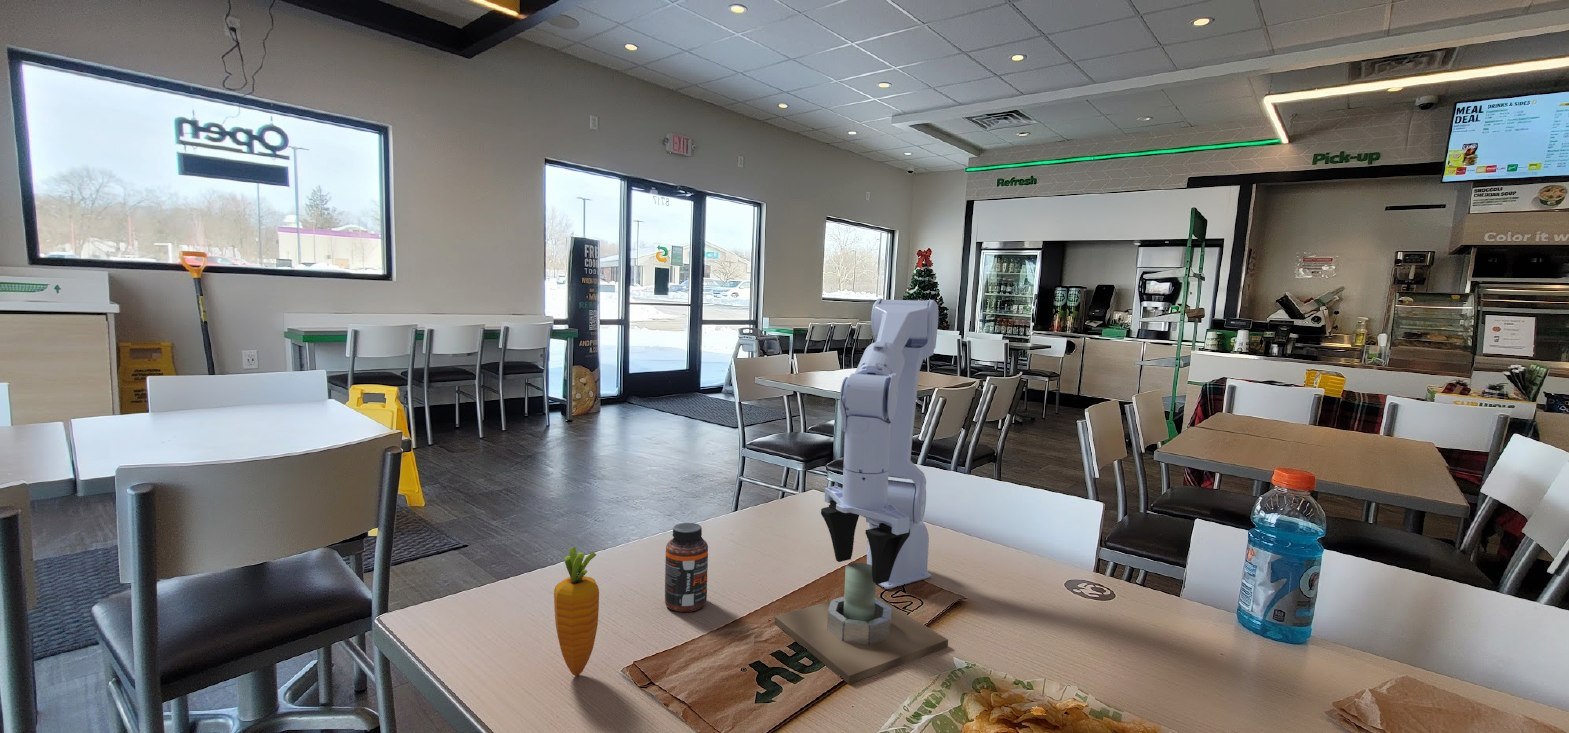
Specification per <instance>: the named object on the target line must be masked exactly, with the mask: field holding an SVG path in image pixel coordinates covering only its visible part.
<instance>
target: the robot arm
mask: <svg viewBox="0 0 1569 733" xmlns="http://www.w3.org/2000/svg"><path fill="white" fill-rule="evenodd" d="M870 314H871V317H870V319H871V320H870V323H871V324H870V326H871V332H872V334H873V339H874V342H873V343H871V344H869V345H868V346H866V348H865V350H864V351H863V354H862V356H861V358H860V361H859V363H858V365H857V368H856V370H855V372H854V373H851V374H850V375H849V377H848V376H846V377H844V379H843V380H842V383H841V387H840V393H839V394H840V395H839V410H840V415H841V432H843V433H844V443H843V445H844V448H843V470H842V473H843V474H842V487H840V486H837V485H834V486H833V485H832V486H829V487H825V488H824V502H825V503H828V506H827V507H822V508H821V509H820V515H821V516H822V519H823V520H824V522H825V525H826V526H827V529H828V532H829V535H830V538H831V542H832V547H833V552H834V557H835V561H836V562H838V563H841V562H846V561H850V560H851V559H852V556H853V551H854V543H855V540H854V539H855V534H856V529H857V525H858V521H859V518H860V516H861V517H863V518H865V523H868V524H867V526H868V527H867V529H866V530H865V536H866V538H867V550H866V551H867V554H866V564H869V565H872V578H873V582H874V583H876V585H878V586H880V587H882V588H883V587H884V588H883V589H885V590H891V589H894V588H897V586H898V587H901V586H904V584H905V585H909V584H911V583H915V582H919V581H921V580H925V579H929V578H930V577H931V576H932V574H931V573H930V572H928V562H929V543H930V541H929V540H930V537H929V532H928V528H927V526H926V524H925V523H924V522H923V520H924V517H925V512H926V506H927V504H926V503H927V478H926V475H925V473H924V472H923V471H922V470H921V469H920V468H919V467H918V465H916V464H915V463H913V461H912V460H911V459H912V458H911V457H912V448H913V447H912V446H913V436H914V426H915V419H916V418H915V417H916V407H917V406H916V404H917V395H918V385H919V376H920V375H919V374H920V371H921V368H922V365H923V361H924V359H927V358H929V357H932V356H933V355H934V353H935V349H936V347H937V338H938V327H939V306H938V303H937V302H936V300H935V299H930V300H915V299H913V300H911V299H910V300H909V299H906V300H905V299H904V300H903V299H883V298H877V299H876V301H875V302H874V303H873V305H872V310H871V313H870ZM889 478H896V479H905V480H911V481H912V482H908V481H903V480H901V481H900V480H894V479H889Z"/></svg>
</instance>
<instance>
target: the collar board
mask: <svg viewBox="0 0 1569 733" xmlns="http://www.w3.org/2000/svg"><path fill="white" fill-rule="evenodd" d="M875 598H877V599H878V600H880V601H882V602H883V603H885V604H887V605H888V606H890V607H891V627H890V636H889V638H888V639H886V640H883V641H880V642H877V643H874V644H871V645H870V644H868V645H865V644H858V643H850V642H844V640H843V641H841V640H840V639H839V638H837V637H836V636H835V635H833V634H832V633H831V632H829V631H828V629H827V619H828V609H829V606H830V602H831V601H832V600H833V599H832V600H829V601H828V600H827V601H825V602H821V603H818V604H815V605H811V606H807V607H803V608H800V609H796V610H793V611H790V612H789V611H788V612H785V613H782V614H778V615H775V616H774V624H775V625H776V626H777V627H778V628H779V629H781V631H783V630H784V631H785V632H784V631H783V632H784V633H786V635H788V634H789V635H790V636H789V635H788V636H789V637H791V638H792V639H793V640H794V641H795V642H796V643H798V644H799V645H800V646H801V645H802V648H804V649H805V648H806V649H807V650H806V649H805V650H806V651H808V652H809V653H810V654H811V655H813V656H814V658H816V659H817V660H819V661H820V663H822V664H823V663H824V666H826V667H827V668H828V667H829V670H831V671H832V672H833V671H834V672H835V673H834V672H833V673H834V674H835V675H837V674H838V675H840V676H841V677H842V678H843V679H842V678H841V677H840V678H841V679H842V680H843V681H844V682H845V683H847V684H848V685H851V684H854V683H857V682H859V681H861V680H863V679H867V678H868V677H872V676H874V675H877V674H880V673H882V672H885V671H888V670H891V669H893V668H895V667H898V666H901V665H904V664H906V663H907V664H908V663H909V662H911V661H914V660H917V659H920V658H922V657H925V656H928V655H930V654H933V653H935V652H938V651H941V650H943V649H946V648H948V647H949V646H948V644H949V639H948V638H946V637H944V636H943V635H941V634H939V633H938V632H936V631H934V630H933V629H931V628H930V627H928V626H926V625H925V624H923V623H922V622H919V621H918V620H917V619H915V618H913V617H912V616H910V615H908V614H907V613H905V612H903V611H901V610H900V609H898V608H896V607H895V606H893V605H891V604H890V603H889V602H886V601H885V600H883V599H881V598H880V597H879V596H877V595H875ZM838 675H837V676H838Z"/></svg>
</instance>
